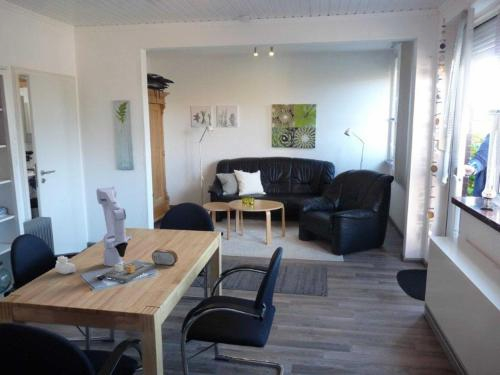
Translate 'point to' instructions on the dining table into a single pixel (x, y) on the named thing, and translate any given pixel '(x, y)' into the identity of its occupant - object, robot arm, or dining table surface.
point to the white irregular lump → (65, 266)
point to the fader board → (126, 277)
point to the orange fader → (130, 268)
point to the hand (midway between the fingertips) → (122, 256)
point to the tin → (164, 257)
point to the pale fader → (118, 267)
